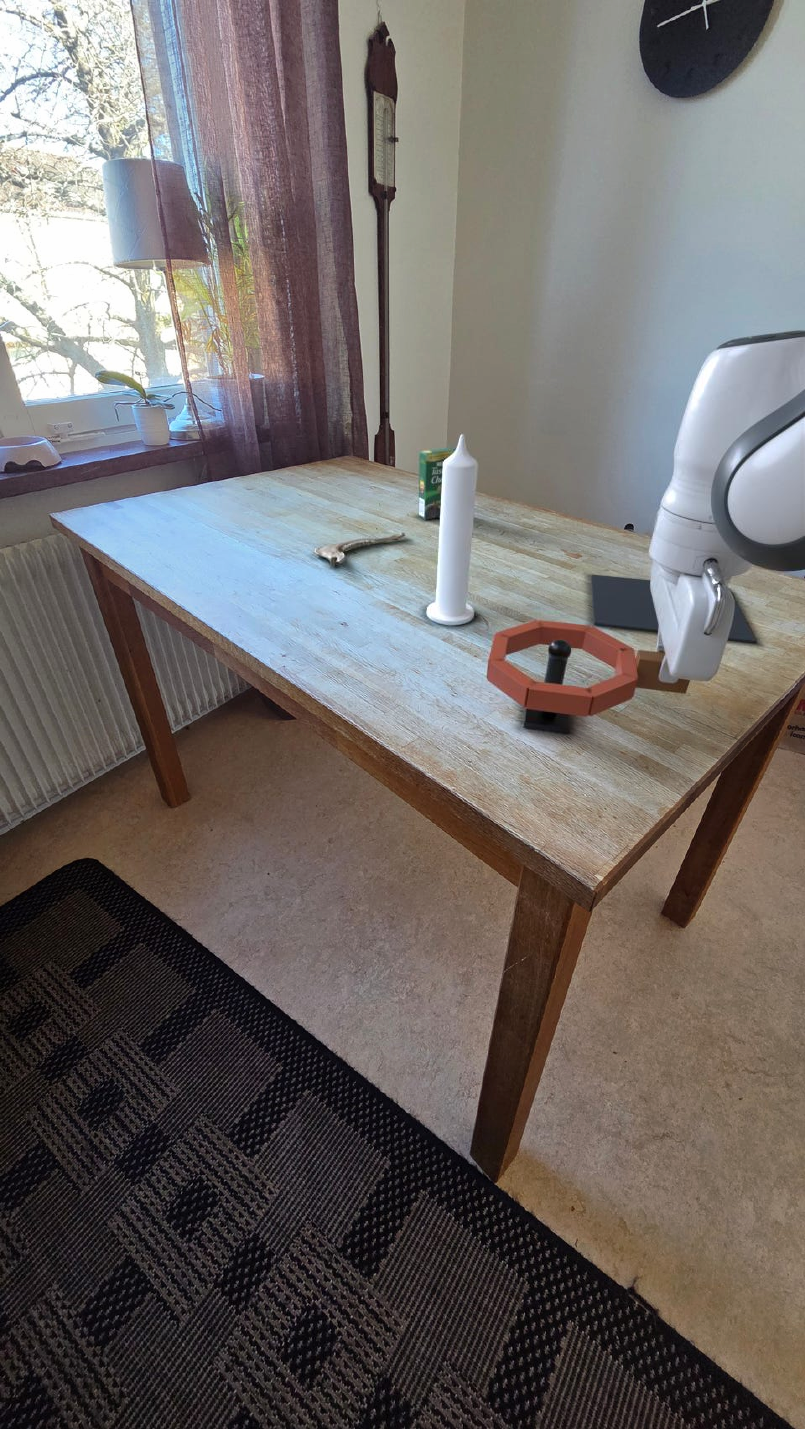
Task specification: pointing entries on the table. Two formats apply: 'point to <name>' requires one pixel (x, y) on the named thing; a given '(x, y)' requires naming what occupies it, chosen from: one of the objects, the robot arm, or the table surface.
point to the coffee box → (431, 481)
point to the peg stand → (555, 675)
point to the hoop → (571, 697)
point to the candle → (455, 538)
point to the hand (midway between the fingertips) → (664, 670)
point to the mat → (642, 607)
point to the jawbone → (350, 547)
